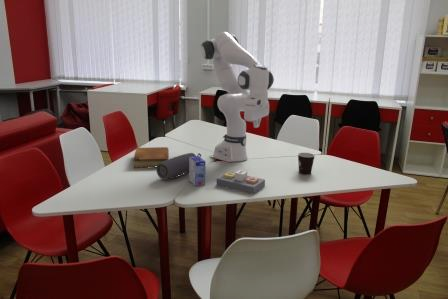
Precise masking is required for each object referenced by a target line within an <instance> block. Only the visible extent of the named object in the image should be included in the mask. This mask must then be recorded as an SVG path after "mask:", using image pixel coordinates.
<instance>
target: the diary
mask: <svg viewBox="0 0 448 299" xmlns="http://www.w3.org/2000/svg"><path fill="white" fill-rule="evenodd" d="M169 155H170V154H169V148H168V146H163V147H161V146H158V147H136V148H135V152H134V155H133V160H132V161H133V162H134V165H133V169H149V168H148V167H155V166H157V165H158V164H159V163H161V162H163V161H166V160H168V159H170V157H169Z"/></svg>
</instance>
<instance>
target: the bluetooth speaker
mask: <svg viewBox="0 0 448 299" xmlns="http://www.w3.org/2000/svg"><path fill="white" fill-rule="evenodd" d="M193 156H197V155H196V154H195V153H193V152H188V153H184V154H180V155H176V156H174V157H172V158H169V159H168V160H166V161H163V162H161V163H159V164H158V165H157V168H155V169H156V170H155V171H156V174H157V176H158V177H159V178H160V179H162V180H167V179H172V178H171V177H176V176H178V175H181V174H183V173H187V172H189V157H193ZM176 178H177V177H176Z"/></svg>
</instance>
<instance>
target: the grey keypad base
mask: <svg viewBox="0 0 448 299" xmlns="http://www.w3.org/2000/svg"><path fill="white" fill-rule="evenodd" d="M229 172H230V173H234V172H233V171H229ZM249 177H252V176H250V175H247V178H249ZM253 177H254V178H258V182H257V183H256V184H251V183H247V182H246V180H245V181H243V182H242V181H238V180H235V178H233V179H229V178H225V177H224V174H222V175H221V176H219V177H217V178H216V186H217V185H218V186H217V187H222V188H227V189H230V190H233V191H238V192H242V193H247V194H251V195H255V194H257V192H259V191H260V190H262V189H263V188H264V187H265V186H266V179H265V178H261V177H260V178H259V177H255V176H253Z"/></svg>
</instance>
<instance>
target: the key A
mask: <svg viewBox="0 0 448 299" xmlns="http://www.w3.org/2000/svg"><path fill="white" fill-rule="evenodd" d="M230 172H231V171H227V172H226V173H224V174H223V175H224V177H225V178H229V179H233V178H235V172H233V173H230Z"/></svg>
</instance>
